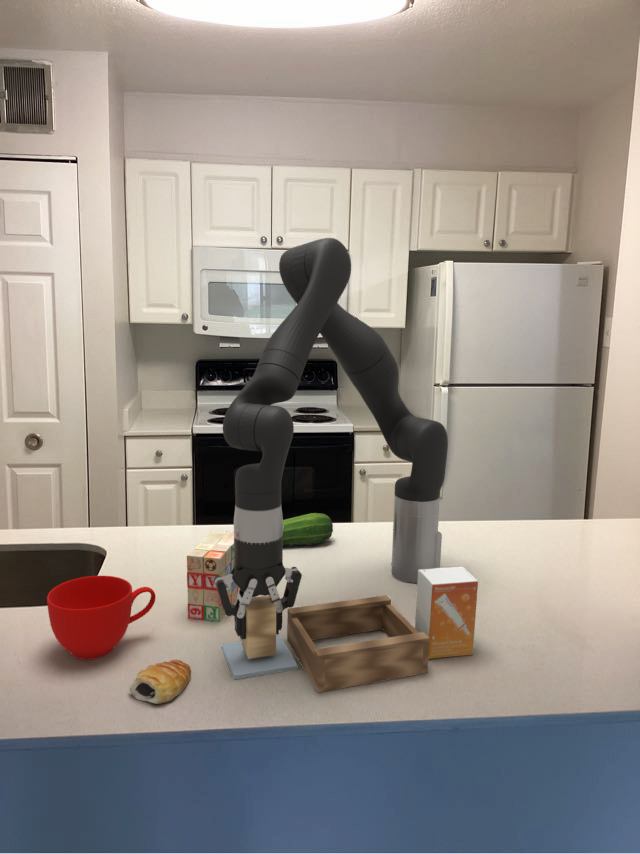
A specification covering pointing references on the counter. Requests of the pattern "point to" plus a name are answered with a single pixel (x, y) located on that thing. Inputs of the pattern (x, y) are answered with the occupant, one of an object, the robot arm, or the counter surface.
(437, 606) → the small box
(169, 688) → the pastry
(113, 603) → the ceramic cup
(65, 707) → the counter surface
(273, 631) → the block
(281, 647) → the pad
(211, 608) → the stack of blocks
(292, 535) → the vegetable
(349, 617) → the crate
